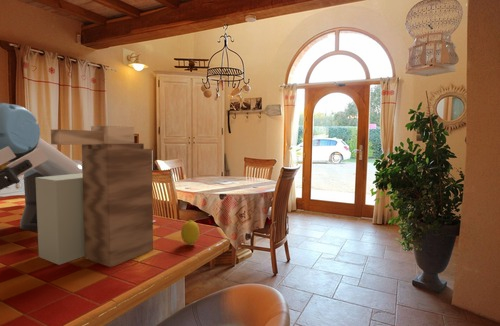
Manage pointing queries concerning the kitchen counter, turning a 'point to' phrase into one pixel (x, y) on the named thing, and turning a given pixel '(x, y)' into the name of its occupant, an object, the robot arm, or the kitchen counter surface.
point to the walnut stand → (117, 202)
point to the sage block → (60, 217)
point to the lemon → (190, 232)
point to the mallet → (94, 136)
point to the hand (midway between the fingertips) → (27, 152)
